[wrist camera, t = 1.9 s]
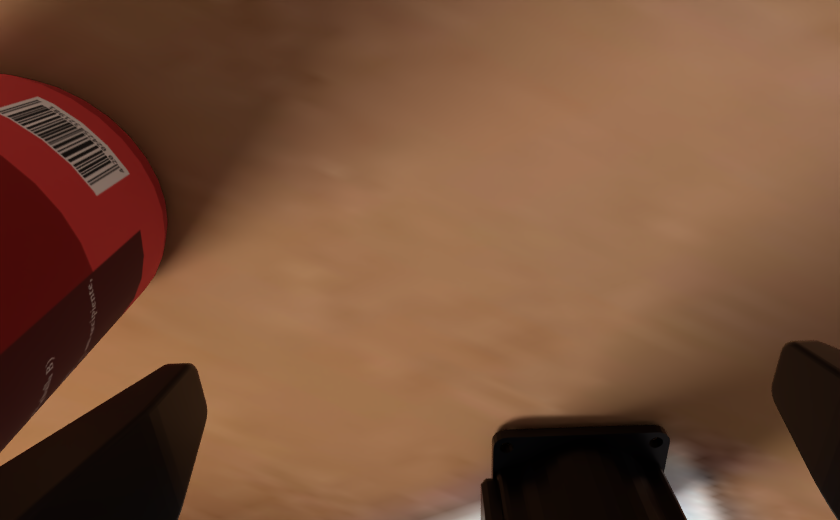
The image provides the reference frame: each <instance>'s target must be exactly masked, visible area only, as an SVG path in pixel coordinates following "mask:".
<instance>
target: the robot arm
mask: <svg viewBox="0 0 840 520" xmlns="http://www.w3.org/2000/svg"><path fill="white" fill-rule="evenodd" d="M772 396H773V400H774V402H775V404H776V406H777V408H778V410H779V412H780V414H781V416H782V418H783V420H784V422H785V424H786V426H787V428H788V430H789V432H790V434H791V436H792V438H793V440H794V442H795V444H796V446H797V448H798V450H799V452H800V454H801V456H802V458H803V460H804V462H805V464H806V466H807V468H808V470H809V472H810V474H811V476H812V477H813V479H814V481H815V483H816V485H817V487H818V488H819V490H820V492H821V494H822V495H823V497H824V499H825V500H826V502H827V504H828V505H829V507H830V509H831V510H832V512H833V513H834V515H835V516H836V518H837V520H840V350H839V349H837V348H835V347H832V346H830V345H827V344H825V343H822V342H819V341H814V340H809V341H790V342H788V343H786V344H785V345H784V346H783V348H782V350H781V354H780V357H779V361H778V364H777V368H776V372H775V375H774V379H773V382H772ZM206 419H207V404H206V400H205V397H204V393H203V389H202V385H201V382H200V378H199V374H198V371H197V369H196V367H195V366H194V365H192V364H191V363H180V364H167V365H164V366H162V367H161V368H159V369H157V370H156V371H154V372H152V373H151V374H149V375H148V376H146V377H144V378H143V379H141V380H140V381H138V382H136V383H135V384H133V385H131V386H130V387H128V388H127V389H125V390H123V391H122V392H120V393H118V394H117V395H115V396H114V397H112V398H110V399H109V400H107V401H106V402H104V403H102V404H101V405H99V406H97V407H96V408H94V409H93V410H91V411H89V412H88V413H86V414H84V415H83V416H81V417H80V418H78V419H76V420H75V421H73V422H72V423H70V424H68V425H67V426H65V427H63V428H62V429H60V430H59V431H57V432H55V433H54V434H52V435H50V436H49V437H47V438H46V439H44V440H42V441H41V442H39V443H38V444H36V445H34V446H33V447H31V448H29V449H28V450H26V451H25V452H23V453H21V454H20V455H18V456H16V457H15V458H13V459H12V460H10V461H8V462H7V463H5V464H4V465H2V466H0V520H178V518H179V515H180V512H181V509H182V506H183V503H184V499H185V496H186V492H187V489H188V485H189V482H190V478H191V474H192V471H193V467H194V463H195V460H196V456H197V452H198V449H199V445H200V442H201V438H202V434H203V431H204V427H205V423H206ZM656 437H657V438H656ZM653 438H656V439H654V440H652V439H653ZM503 443H510V444H508V445H502V444H503ZM669 444H670V438H669V437H668V435H667V433H666V431H665V430H664V428H663V427H661V426H659V425H630V426H601V427H573V428H544V429H515V430H502V431H499V432H497V433H496V434H495V435H494V436H493V439H492V478H490V479H485V480H484V481H483V483H482V484H481V520H687V519H686V517H685V515H684V513H683V511H682V509H681V506H680V504H679V502H678V500H677V498H676V496H675V494H674V492H673V490H672V488H671V486H670V484H669V482H668V480H667V478H666V476H665V474H664V469H665V464H666V459H667V454H668V449H669Z"/></svg>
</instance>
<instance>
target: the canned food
mask: <svg viewBox="0 0 840 520" xmlns="http://www.w3.org/2000/svg"><path fill="white" fill-rule="evenodd" d="M167 224H168V221H167V213H166V204H165V199H164V196H163V193H162V190H161V187H160V184H159V181H158V179H157V177H156V175H155V173H154V171H153V169H152V168H151V166H150V164H149V162H148V160H147V159H146V157H145V156H144V154H143V153H142V152H141V151H140V149H139V148H138V147H137V145H136V144H135V143H134V142H133V140H132V139H131V138H130V137H129V135H127V134H126V133H125V132H124V131H123V130H122V129H121V128H120V127H119V126H118V125H117V124H116V123H115V122H113V121H112V120H111V119H110V118H109V117H108V116H107V115H105V114H104V113H102V112H101V111H99V110H98V109H96V108H95V107H93V106H92V105H90V104H89V103H88V102H86V101H85V100H83V99H81V98H79V97H77V96H74V95H72V94H70V93H68V92H66V91H64V90H62V89H60V88H58V87H55V86H51V85H48V84H45V83H41V82H38V81H35V80H31V79H27V78H22V77H18V76H13V75H6V74H0V452H1V451H2V450H3V449H4V448H5V446H6V445H7V444H8V443H9V442H10V441H11V440H12V439H13V437H14V436H15V435H16V434H17V433H18V432H19V431H20V430H21V428H22V427H23V426H24V425H25V424H26V423H27V422H28V421H29V419H30V418H31V417H32V416H33V415H34V414H35V413H36V412H37V410H38V409H39V408H40V407H41V406H42V405H43V404H44V403H45V401H46V400H47V399H48V398H49V397H50V396H51V395H52V394H53V392H54V391H55V390H56V389H57V388H58V387H59V386H60V385H61V383H62V382H63V381H64V380H65V379H66V378H67V377H68V376H69V374H70V373H71V372H72V371H73V370H74V369H75V368H76V367H77V365H78V364H79V363H80V362H81V361H82V360H83V359H84V357H85V356H86V355H87V354H88V353H89V352H90V351H91V350H92V348H93V347H94V346H95V345H96V344H97V343H98V342H99V341H100V339H101V338H102V337H103V336H104V335H105V334H106V333H107V332H108V330H109V329H110V328H111V327H112V326H113V325H114V324H115V323H116V321H117V320H118V319H119V318H120V317H121V316H122V315H123V314H124V312H125V311H126V310H127V309H128V308H129V307H130V306H131V305H132V303H133V302H134V301H135V300H136V299H137V298H138V297H139V296H140V294H141V293H142V292H143V291H144V290H145V288H146V287H147V286H148V284H149V283H150V281H151V280H152V279H153V277H154V276H155V274H156V272H157V269H158V267H159V264H160V261H161V259H162V256H163V252H164V247H165V241H166V233H167Z"/></svg>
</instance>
